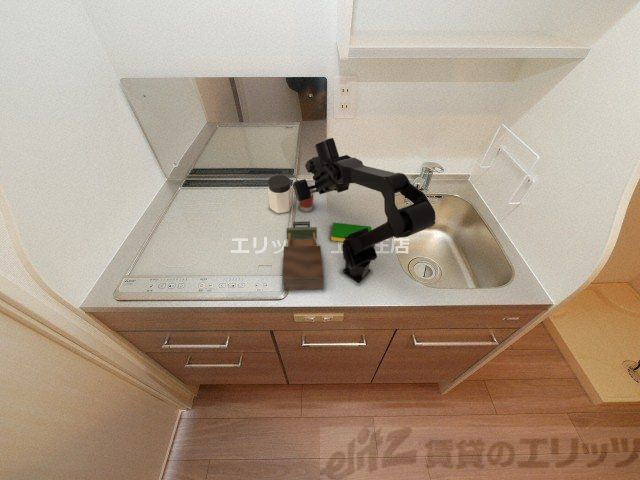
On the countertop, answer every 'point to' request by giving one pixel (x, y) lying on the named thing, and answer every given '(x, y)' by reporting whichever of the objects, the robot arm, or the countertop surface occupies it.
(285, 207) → the jar
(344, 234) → the dish sponge
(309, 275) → the cabinet
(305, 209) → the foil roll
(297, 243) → the drawer
